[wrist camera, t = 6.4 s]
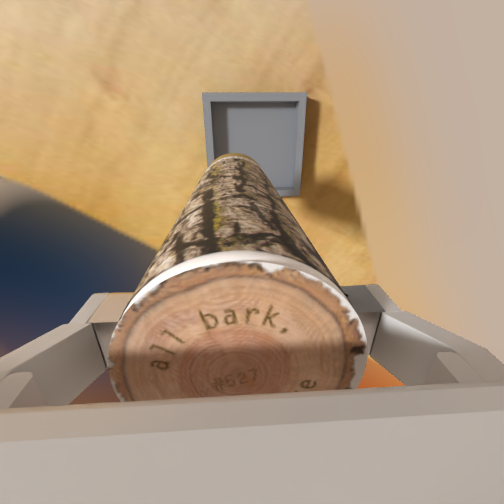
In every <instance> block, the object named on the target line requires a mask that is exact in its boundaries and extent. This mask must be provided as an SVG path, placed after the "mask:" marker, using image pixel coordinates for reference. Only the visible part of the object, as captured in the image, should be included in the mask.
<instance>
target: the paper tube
mask: <svg viewBox="0 0 504 504" xmlns="http://www.w3.org/2000/svg"><path fill="white" fill-rule="evenodd" d="M366 362H367V340H366V334H365V331H364V328H363V325H362V323H361V321H360V319H359V317H358V315H357V313H356V312H355V310H354V308H353V306H352V304H351V302H350V301H349V299H348V298H347V296H346V294H345V293H344V291H343V290H342V288H341V287H340V285H339V284H338V282H337V281H336V279H335V278H334V276H333V275H332V273H331V272H330V270H329V269H328V267H327V266H326V264H325V263H324V261H323V260H322V258H321V257H320V255H319V254H318V252H317V251H316V249H315V248H314V246H313V245H312V243H311V242H310V240H309V239H308V237H307V236H306V234H305V233H304V231H303V230H302V228H301V227H300V225H299V224H298V222H297V221H296V219H295V218H294V216H293V215H292V213H291V212H290V210H289V209H288V207H287V206H286V204H285V203H284V201H283V200H282V198H281V197H280V195H279V194H278V192H277V191H276V189H275V188H274V186H273V185H272V183H271V182H270V180H269V179H268V177H267V176H266V174H265V173H264V171H263V170H262V169H261V167H260V166H259V164H258V163H257V162H256V161H255V160H253V159H252V158H250V157H249V156H247V155H244V154H240V153H229V154H225V155H222V156H220V157H218V158H217V159H215V160H214V161H213V162H212V163H211V164H210V165H209V167H208V168H207V170H206V171H205V173H204V175H203V176H202V178H201V180H200V181H199V183H198V185H197V187H196V188H195V190H194V192H193V193H192V195H191V197H190V198H189V200H188V202H187V204H186V205H185V207H184V209H183V210H182V212H181V214H180V215H179V217H178V219H177V221H176V222H175V224H174V226H173V227H172V229H171V231H170V232H169V234H168V236H167V238H166V239H165V241H164V243H163V244H162V246H161V248H160V250H159V251H158V253H157V255H156V257H155V258H154V260H153V261H152V263H151V265H150V267H149V268H148V270H147V272H146V274H145V275H144V277H143V278H142V280H141V282H140V284H139V286H138V287H137V289H136V290H135V292H134V294H133V295H132V297H131V299H130V301H129V302H128V304H127V306H126V307H125V309H124V311H123V313H122V315H121V317H120V319H119V322H118V324H117V326H116V328H115V330H114V332H113V334H112V337H111V341H110V344H109V349H108V372H109V377H110V380H111V383H112V386H113V388H114V390H115V393H116V394H117V396H118V398H119V399H120V401H121V402H128V401H146V400H164V399H182V398H199V397H217V396H234V395H252V394H269V393H287V392H305V391H324V390H343V389H357V387H358V385H359V383H360V381H361V379H362V376H363V374H364V370H365V367H366Z"/></svg>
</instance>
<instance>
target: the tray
mask: <svg viewBox="0 0 504 504" xmlns="http://www.w3.org/2000/svg"><path fill="white" fill-rule="evenodd" d="M202 98H203V111H204V124H205V138H206V151H207V165H208V167H209V165H210V164H211V163H212V162H213V161H214V160H215V159H217V158H218V157H220V156H222V155H225V154H229V153H240V154H244V155H247V156H249V157H250V158H252V159H253V160H255V161H256V162H257V163H258V164H259V166H260V167H261V169H262V170H263V171H264V173H265V174H266V176H267V177H268V179H269V180H270V182H271V183H272V185H273V186H274V188H275V189H276V191H277V192H278V194H279V195H280V196H300V188H301V173H302V159H303V144H304V129H305V115H306V100H307V93H202Z"/></svg>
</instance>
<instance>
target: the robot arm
mask: <svg viewBox="0 0 504 504" xmlns="http://www.w3.org/2000/svg"><path fill="white" fill-rule="evenodd" d="M340 287H341V288H342V290H343V291H344V293H345V294H346V296H347V298H348V299H349V301H350V302H351V304H352V306H353V308H354V310H355V312H356V313H357V315H358V317H359V319H360V321H361V323H362V325H363V328H364V331H365V334H366V340H367V355H370V357H372V358H373V359H374V360H375V361H377V362H378V363H379V364H380V365H381V366H383V367H384V368H385V369H386V370H388V371H389V372H390V373H391V374H392V375H394V376H395V377H396V378H397V379H399V380H400V381H401V382H402V383H404V384H405V385H406V386H397V387H381V388H362V389H343V390H324V391H305V392H287V393H269V394H252V395H234V396H217V397H199V398H182V399H164V400H146V401H128V402H111V403H93V404H77V405H76V404H75V405H68V404H69V403H70V402H71V401H72V400H73V399H75V398H76V397H77V396H78V395H79V394H80V393H81V392H82V391H83V390H84V389H85V388H87V387H88V386H89V385H90V384H91V383H92V382H93V381H94V380H95V379H96V378H97V377H98V376H100V375H101V374H102V373H103V372H104V371H105V370H106V368H108V349H109V344H110V341H111V337H112V334H113V332H114V330H115V328H116V326H117V324H118V322H119V319H120V317H121V315H122V313H123V311H124V309H125V307H126V306H127V304H128V302H129V301H130V299H131V297H132V295H133V294H134V293H96V294H93V295H92V296H91V297H90V298H89V299H88V301H87V302H86V303H85V304H84V306H83V307H82V308H81V309H80V310H79V312H78V313H77V314H76V316H75V317H74V318H73V319H72V320H71V322H70V323H69V324H63V325H61V326H59V327H57V328H56V329H54V330H52V331H50V332H48V333H46V334H44V335H42V336H41V337H39V338H37V339H35V340H33V341H31V342H29V343H27V344H26V345H24V346H22V347H20V348H18V349H16V350H14V351H13V352H11V353H9V354H7V355H5V356H3V357H1V358H0V504H504V364H503V363H502V362H500V361H499V360H498V359H497V358H496V357H495V356H494V355H493V354H492V353H490V352H489V351H488V350H487V349H485V348H483V347H481V346H479V345H477V344H475V343H473V342H471V341H469V340H467V339H464V338H462V337H460V336H458V335H456V334H454V333H452V332H450V331H447V330H445V329H443V328H441V327H439V326H437V325H435V324H432V323H430V322H428V321H426V320H424V319H422V318H420V317H418V316H416V315H413V314H411V313H409V312H407V311H401V310H400V308H399V307H398V306H397V305H396V304H395V303H394V302H393V301H392V299H390V298H389V296H388V295H387V294H386V293H385V292H384V291H383V289H382V288H381V287H380V286H379V285H377V284H369V285H356V286H340Z"/></svg>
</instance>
